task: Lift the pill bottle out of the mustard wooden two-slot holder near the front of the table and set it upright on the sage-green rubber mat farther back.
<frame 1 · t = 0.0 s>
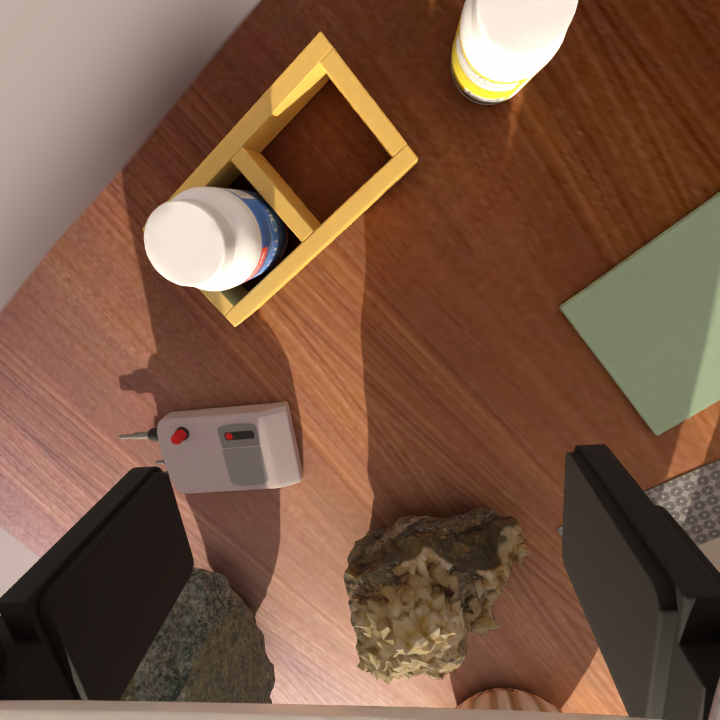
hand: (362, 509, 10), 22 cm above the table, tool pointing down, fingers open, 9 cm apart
pill bottle: (251, 232, 30), resting in bottle holder
supplement bottle: (490, 60, 26), on the table
rock: (228, 608, 42), on the table
grey electronic device: (224, 443, 36), on the table
bottle holder: (287, 196, 29), on the table
mat: (706, 308, 29), on the table
vase: (503, 715, 44), on the table
mineral specimen: (430, 560, 38), on the table
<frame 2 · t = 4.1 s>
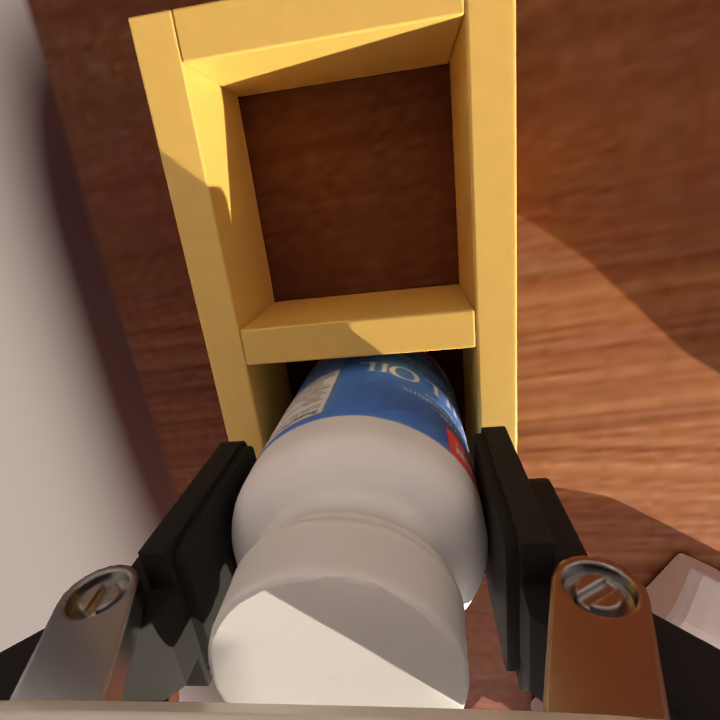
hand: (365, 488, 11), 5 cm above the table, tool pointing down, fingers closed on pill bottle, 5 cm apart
pill bottle: (377, 402, 16), resting in bottle holder, touching gripper
grey electronic device: (644, 675, 19), on the table
bottle holder: (366, 307, 15), on the table
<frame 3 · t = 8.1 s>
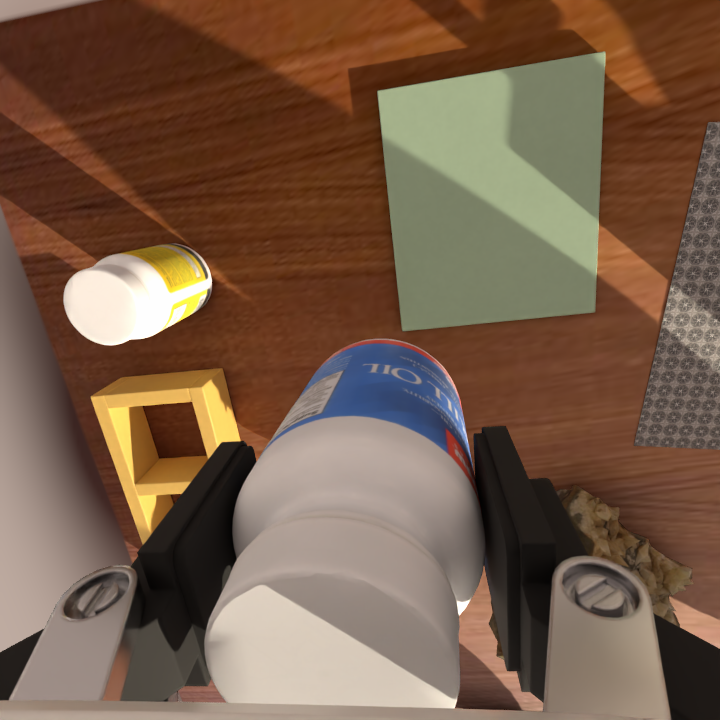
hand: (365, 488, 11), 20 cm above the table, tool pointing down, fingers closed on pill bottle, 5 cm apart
pill bottle: (382, 404, 16), point 14 cm above the table, touching gripper
supplement bottle: (181, 278, 31), on the table
bottle holder: (196, 461, 35), on the table
mat: (490, 207, 27), on the table
mineral specimen: (582, 560, 35), on the table
when the fingers open (6 cm above the table, at t = 12.4 s): pill bottle stays where it is, resting on mat.
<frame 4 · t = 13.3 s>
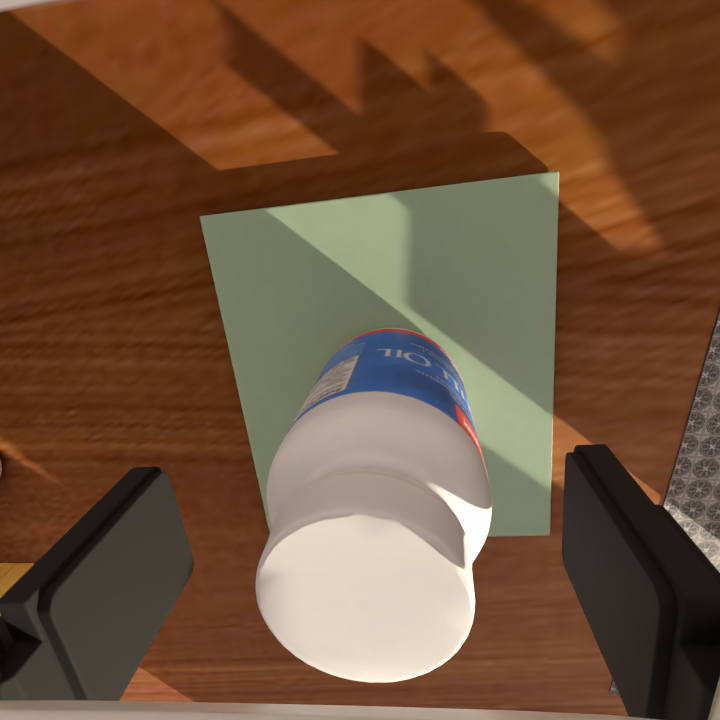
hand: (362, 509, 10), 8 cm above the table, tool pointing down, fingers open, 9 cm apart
pill bottle: (391, 389, 17), resting on mat
bottle holder: (18, 665, 26), on the table
mat: (389, 384, 18), on the table
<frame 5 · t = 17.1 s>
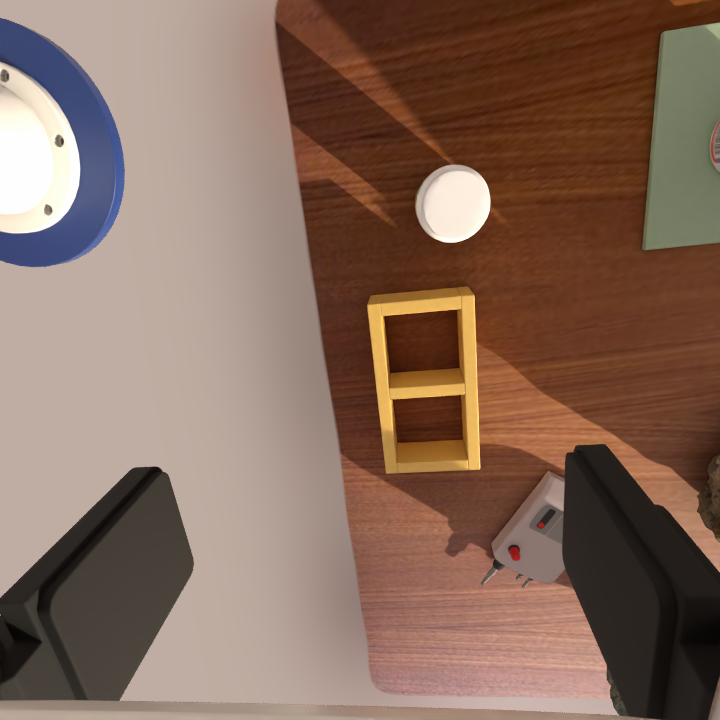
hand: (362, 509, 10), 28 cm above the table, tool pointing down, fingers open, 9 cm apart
supplement bottle: (445, 203, 35), on the table
rock: (663, 627, 46), on the table
grey electronic device: (540, 529, 44), on the table
bottle holder: (424, 375, 39), on the table
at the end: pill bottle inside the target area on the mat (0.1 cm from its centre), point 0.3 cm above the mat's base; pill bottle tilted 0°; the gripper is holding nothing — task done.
